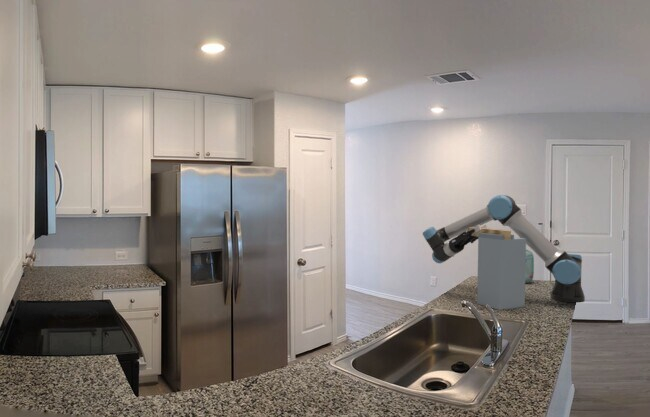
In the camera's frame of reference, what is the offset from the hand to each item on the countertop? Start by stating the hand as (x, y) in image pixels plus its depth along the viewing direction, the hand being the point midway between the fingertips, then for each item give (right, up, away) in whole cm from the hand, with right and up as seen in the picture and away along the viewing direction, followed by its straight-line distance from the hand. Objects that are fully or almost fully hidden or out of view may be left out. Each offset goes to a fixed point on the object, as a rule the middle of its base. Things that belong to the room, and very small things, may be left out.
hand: (483, 227), depth 228 cm
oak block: (+1, -5, -3) cm, 6 cm away
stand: (+7, -37, -4) cm, 38 cm away
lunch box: (+35, -35, +57) cm, 75 cm away
